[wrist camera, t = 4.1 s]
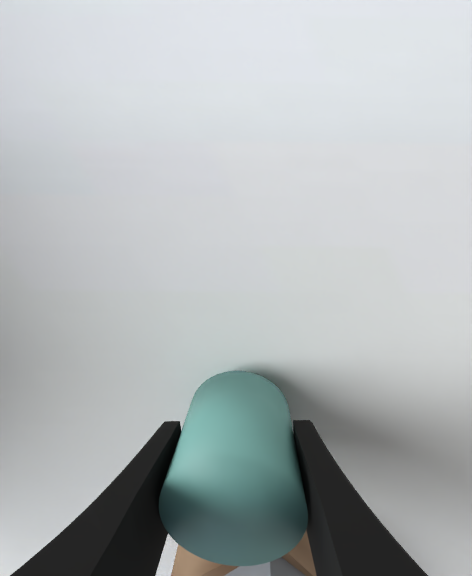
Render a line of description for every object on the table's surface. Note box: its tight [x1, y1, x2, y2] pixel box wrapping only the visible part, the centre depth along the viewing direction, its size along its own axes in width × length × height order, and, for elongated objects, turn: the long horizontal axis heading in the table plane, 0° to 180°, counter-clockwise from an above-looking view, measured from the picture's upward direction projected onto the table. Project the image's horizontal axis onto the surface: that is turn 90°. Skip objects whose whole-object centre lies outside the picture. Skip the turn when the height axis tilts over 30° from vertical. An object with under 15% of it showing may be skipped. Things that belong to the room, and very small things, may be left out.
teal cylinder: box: [159, 371, 308, 566], centre depth 9 cm, size 4×4×4 cm
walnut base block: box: [171, 531, 317, 576], centre depth 14 cm, size 7×7×2 cm
